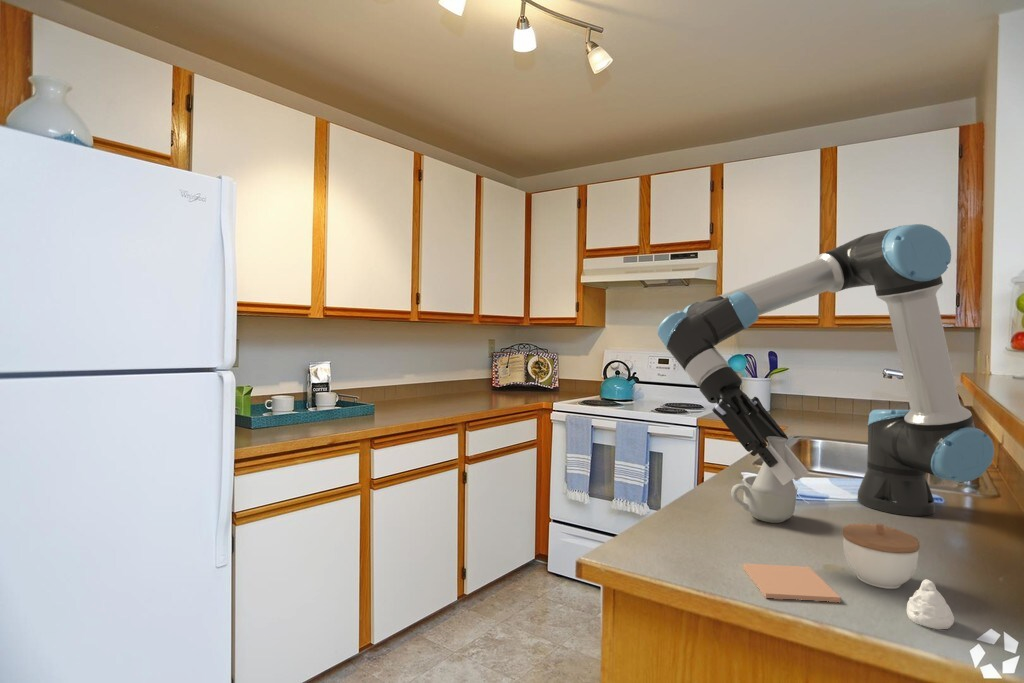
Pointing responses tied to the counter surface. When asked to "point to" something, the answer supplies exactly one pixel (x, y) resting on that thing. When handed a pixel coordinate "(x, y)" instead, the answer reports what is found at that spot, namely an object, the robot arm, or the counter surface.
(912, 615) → the garlic bulb
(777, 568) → the coaster
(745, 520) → the counter surface
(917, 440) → the robot arm
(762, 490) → the flask
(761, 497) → the teacup
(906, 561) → the lidded jar
